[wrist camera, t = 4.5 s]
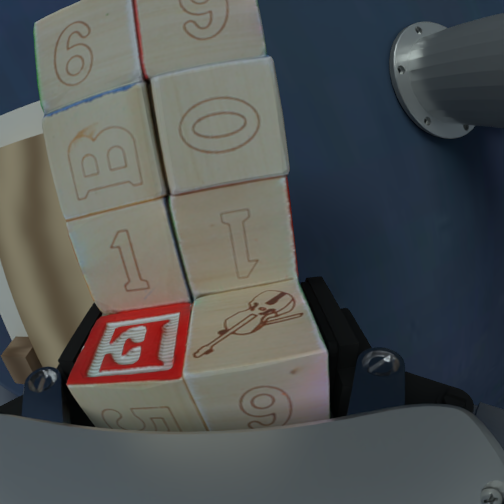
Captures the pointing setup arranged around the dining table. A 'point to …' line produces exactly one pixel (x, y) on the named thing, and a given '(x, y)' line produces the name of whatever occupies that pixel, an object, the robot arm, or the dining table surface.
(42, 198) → the oak plinth
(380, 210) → the dining table surface
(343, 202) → the dining table surface
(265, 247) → the stack of blocks
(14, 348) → the walnut cube
